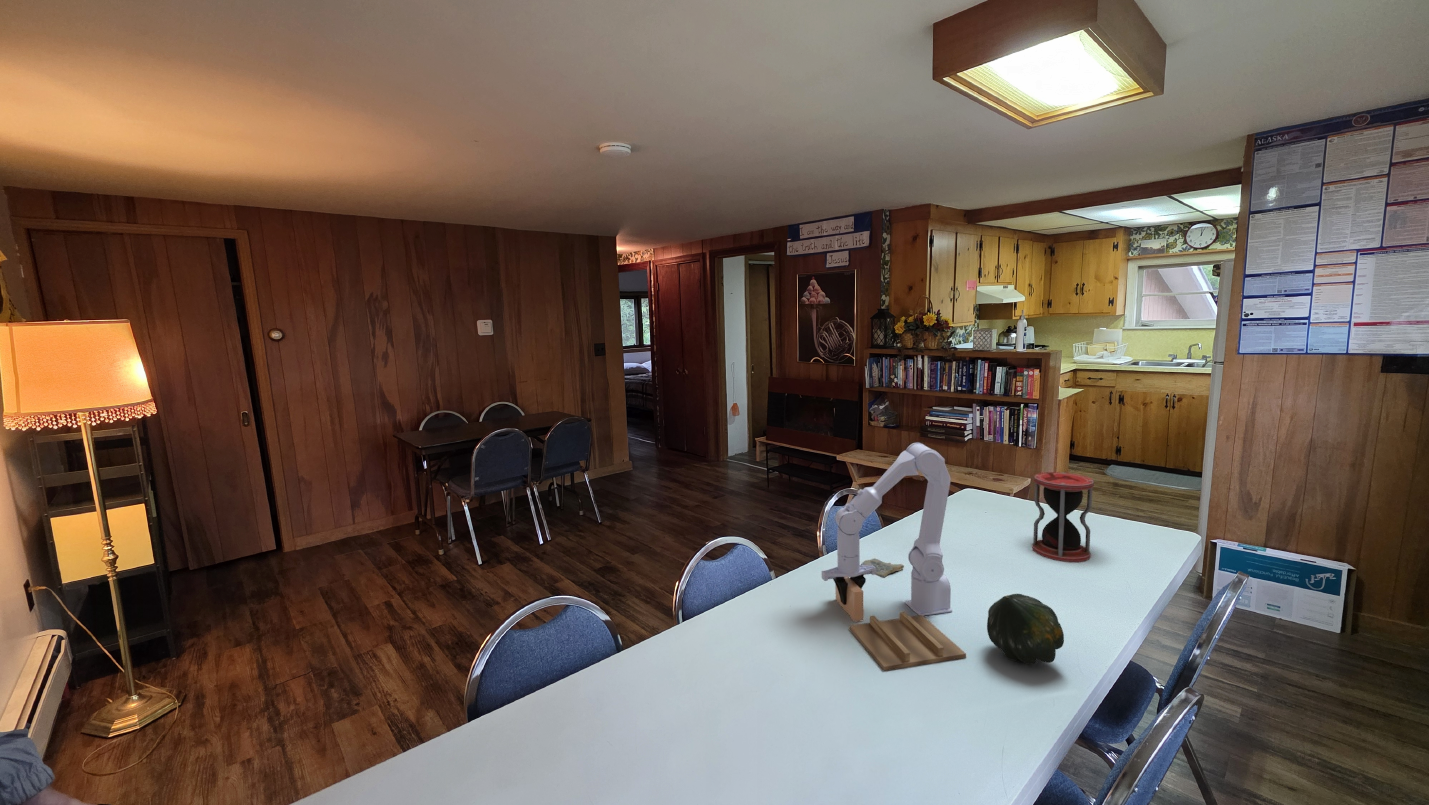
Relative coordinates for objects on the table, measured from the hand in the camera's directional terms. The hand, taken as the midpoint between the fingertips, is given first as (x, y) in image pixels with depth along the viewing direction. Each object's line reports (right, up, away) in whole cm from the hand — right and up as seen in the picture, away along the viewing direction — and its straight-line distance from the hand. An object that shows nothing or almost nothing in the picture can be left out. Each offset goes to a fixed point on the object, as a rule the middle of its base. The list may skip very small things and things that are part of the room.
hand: (848, 602), depth 150 cm
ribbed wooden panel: (+9, -4, -16) cm, 19 cm away
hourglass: (+76, +4, +32) cm, 83 cm away
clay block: (0, -2, 0) cm, 2 cm away
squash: (+33, -4, -24) cm, 41 cm away
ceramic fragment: (+21, +2, +27) cm, 34 cm away
